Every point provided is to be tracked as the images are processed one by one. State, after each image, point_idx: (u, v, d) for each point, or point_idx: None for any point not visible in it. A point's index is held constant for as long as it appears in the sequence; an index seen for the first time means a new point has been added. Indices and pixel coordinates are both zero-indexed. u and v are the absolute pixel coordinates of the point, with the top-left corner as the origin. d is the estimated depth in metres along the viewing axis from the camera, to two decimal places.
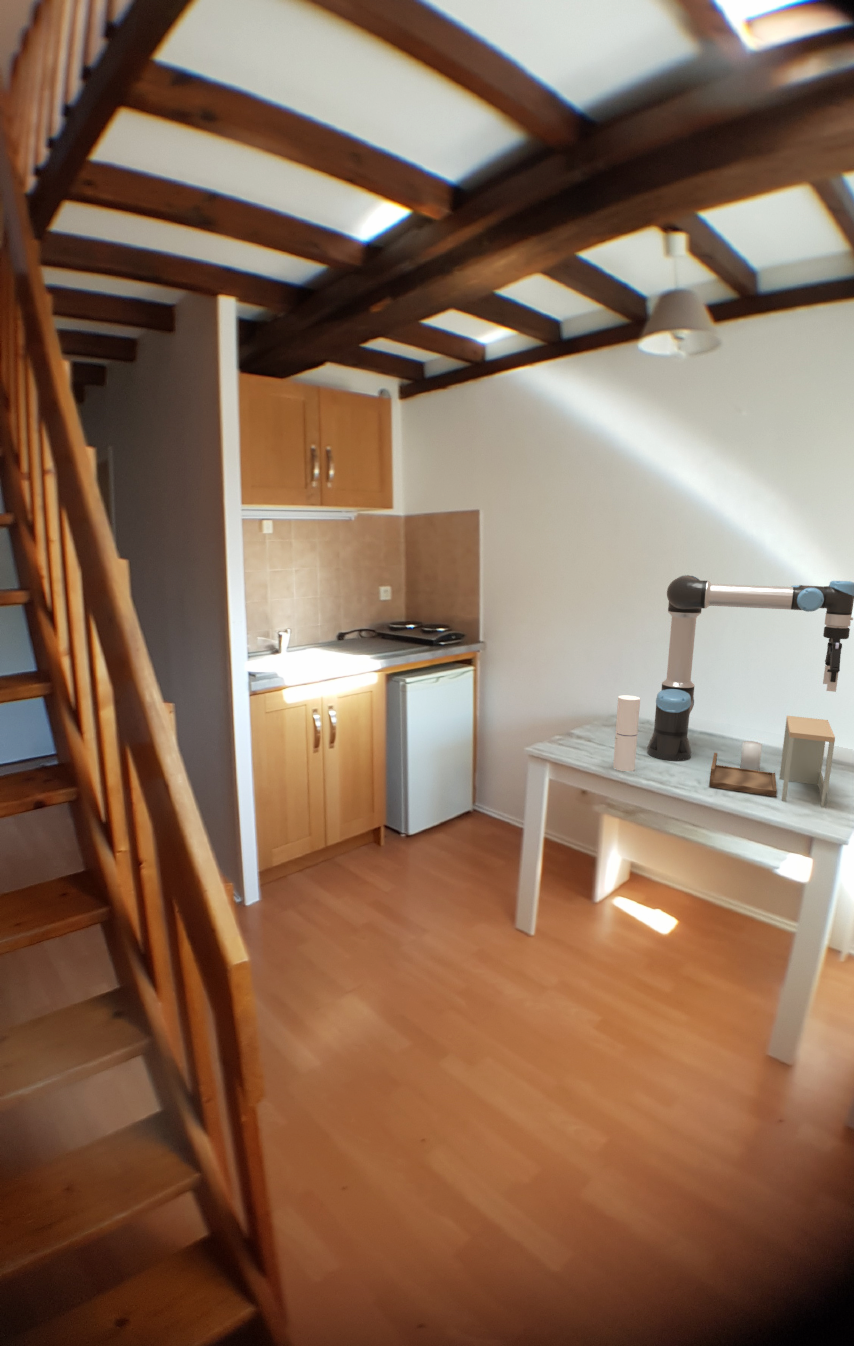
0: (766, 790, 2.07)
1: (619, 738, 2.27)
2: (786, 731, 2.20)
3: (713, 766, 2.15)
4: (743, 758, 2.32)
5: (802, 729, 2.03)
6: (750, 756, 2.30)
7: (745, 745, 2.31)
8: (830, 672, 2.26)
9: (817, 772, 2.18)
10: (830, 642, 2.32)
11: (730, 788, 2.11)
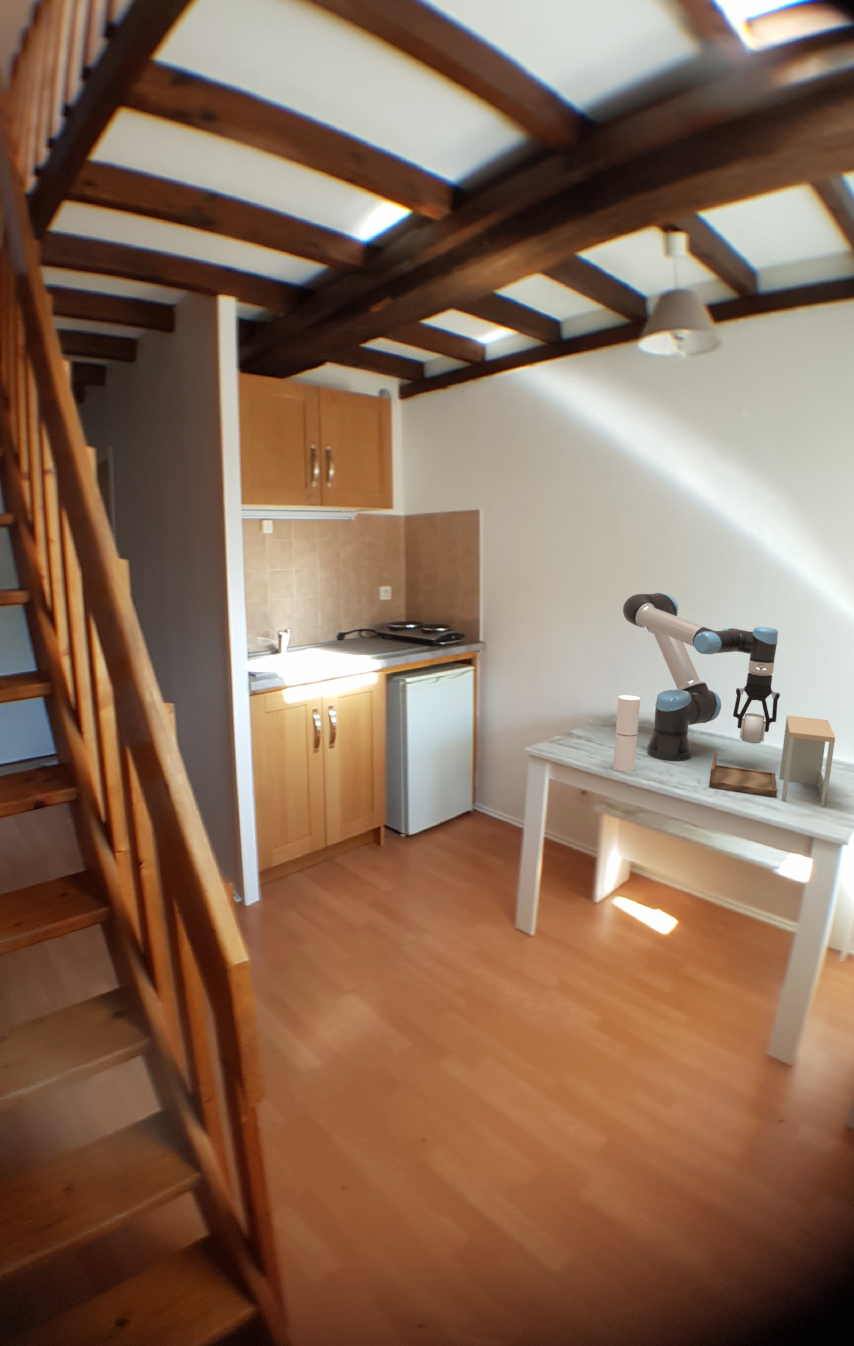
0: (766, 790, 2.07)
1: (619, 738, 2.27)
2: (786, 731, 2.20)
3: (713, 766, 2.15)
4: (745, 730, 2.31)
5: (802, 729, 2.03)
6: (752, 728, 2.29)
7: (747, 717, 2.29)
8: (742, 718, 2.33)
9: (817, 772, 2.18)
10: None
11: (730, 788, 2.11)
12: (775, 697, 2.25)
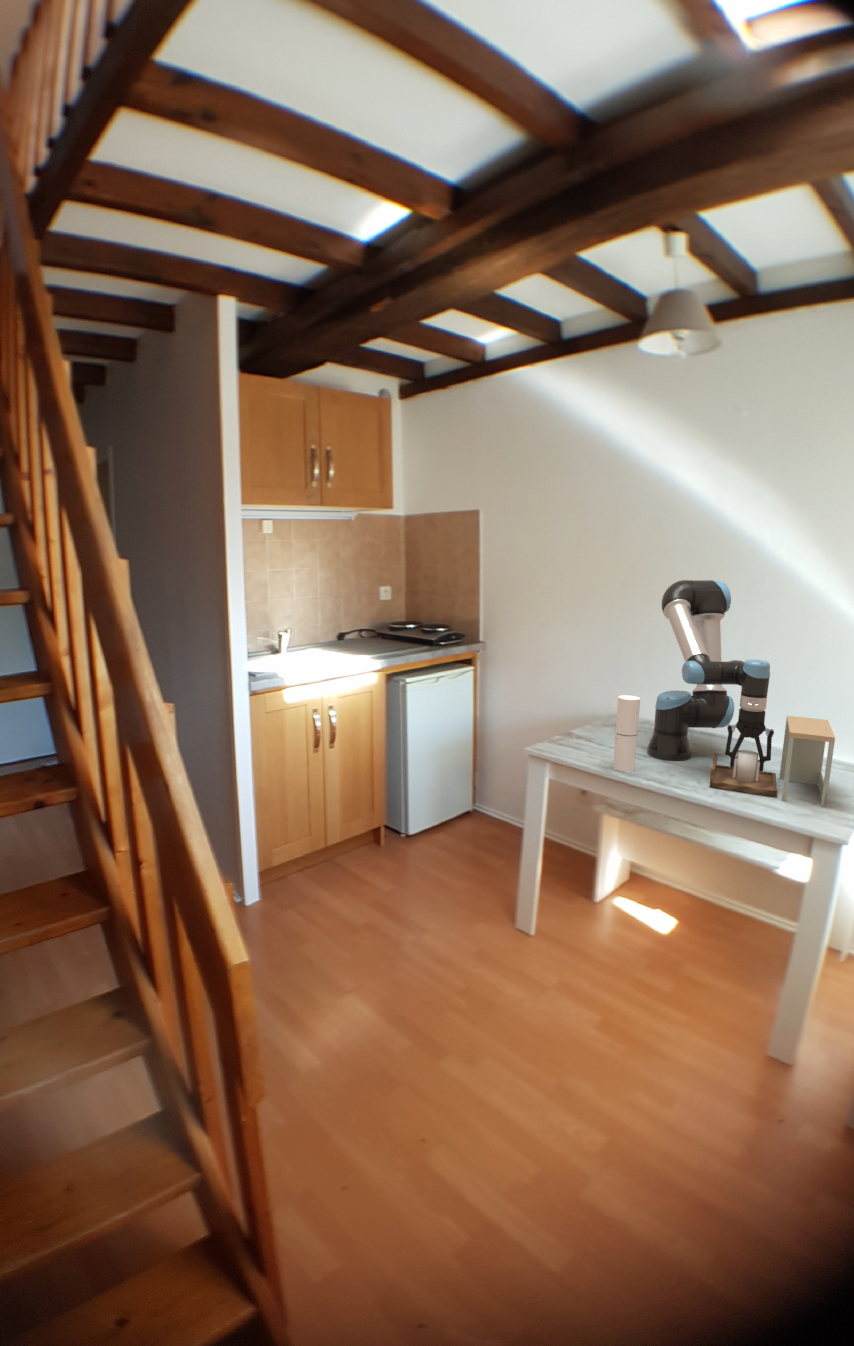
0: (767, 790, 2.07)
1: (619, 738, 2.27)
2: (786, 731, 2.20)
3: (713, 766, 2.15)
4: (738, 768, 2.16)
5: (802, 729, 2.03)
6: (745, 766, 2.14)
7: (740, 754, 2.15)
8: (734, 757, 2.19)
9: (817, 772, 2.18)
10: None
11: (730, 788, 2.11)
12: (769, 734, 2.11)
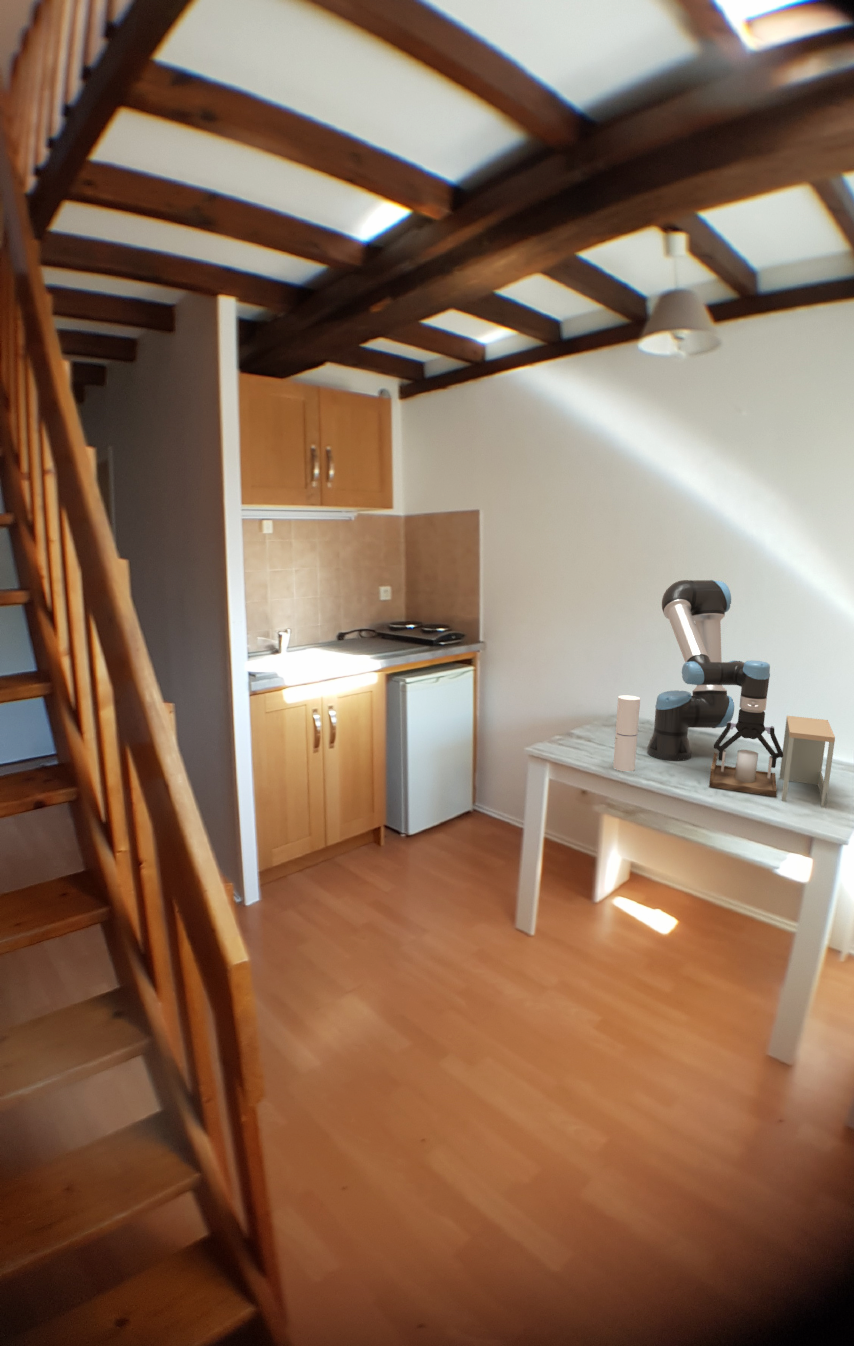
0: (766, 790, 2.07)
1: (619, 738, 2.27)
2: (786, 731, 2.20)
3: (713, 766, 2.15)
4: (738, 768, 2.16)
5: (802, 729, 2.03)
6: (745, 766, 2.14)
7: (740, 754, 2.15)
8: (723, 750, 2.20)
9: (817, 772, 2.18)
10: None
11: (730, 788, 2.11)
12: (770, 732, 2.11)
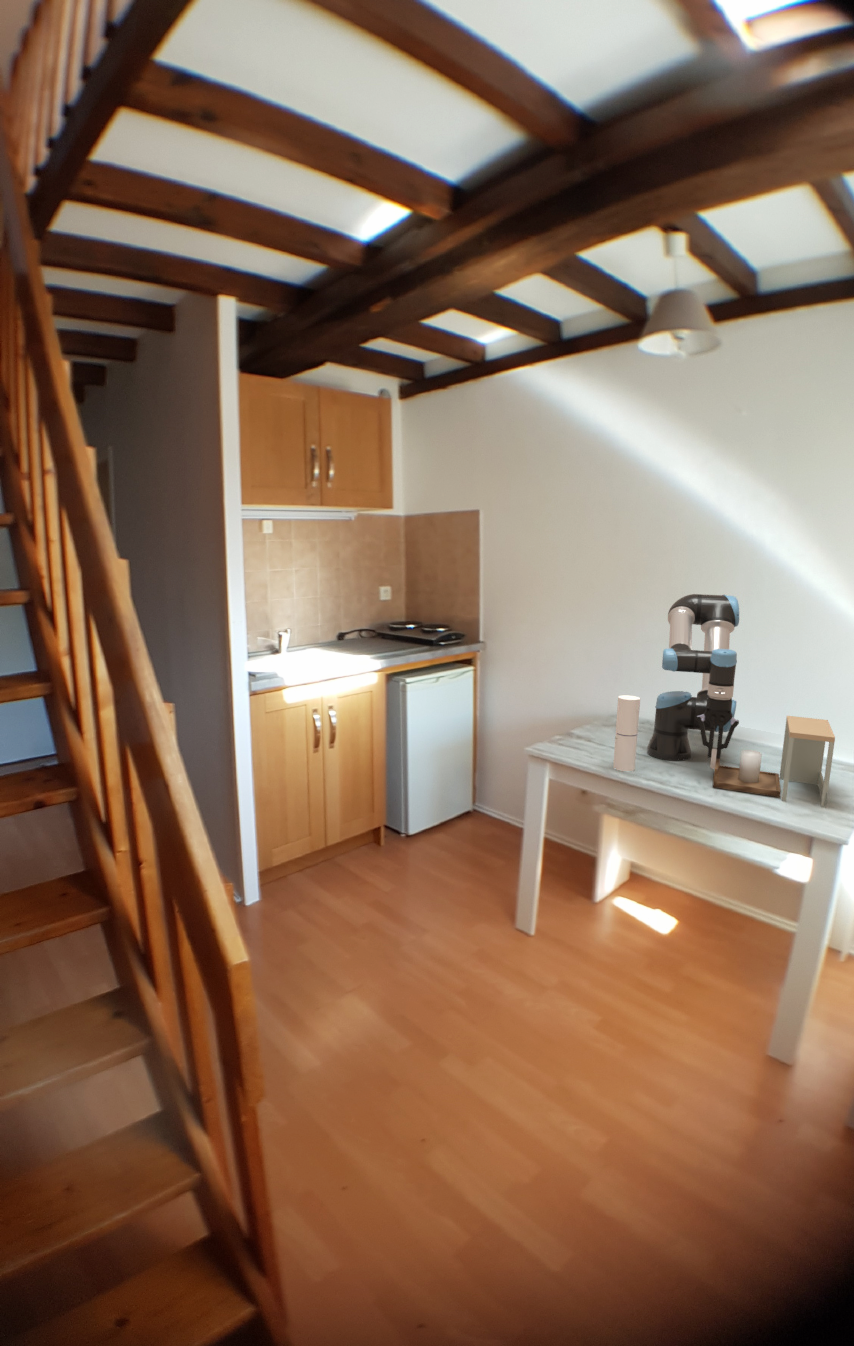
0: (770, 791, 2.07)
1: (619, 738, 2.27)
2: (786, 731, 2.20)
3: (717, 767, 2.14)
4: (742, 769, 2.15)
5: (802, 729, 2.03)
6: (749, 767, 2.13)
7: (744, 755, 2.14)
8: None
9: (817, 772, 2.18)
10: None
11: (734, 789, 2.11)
12: (733, 724, 2.15)
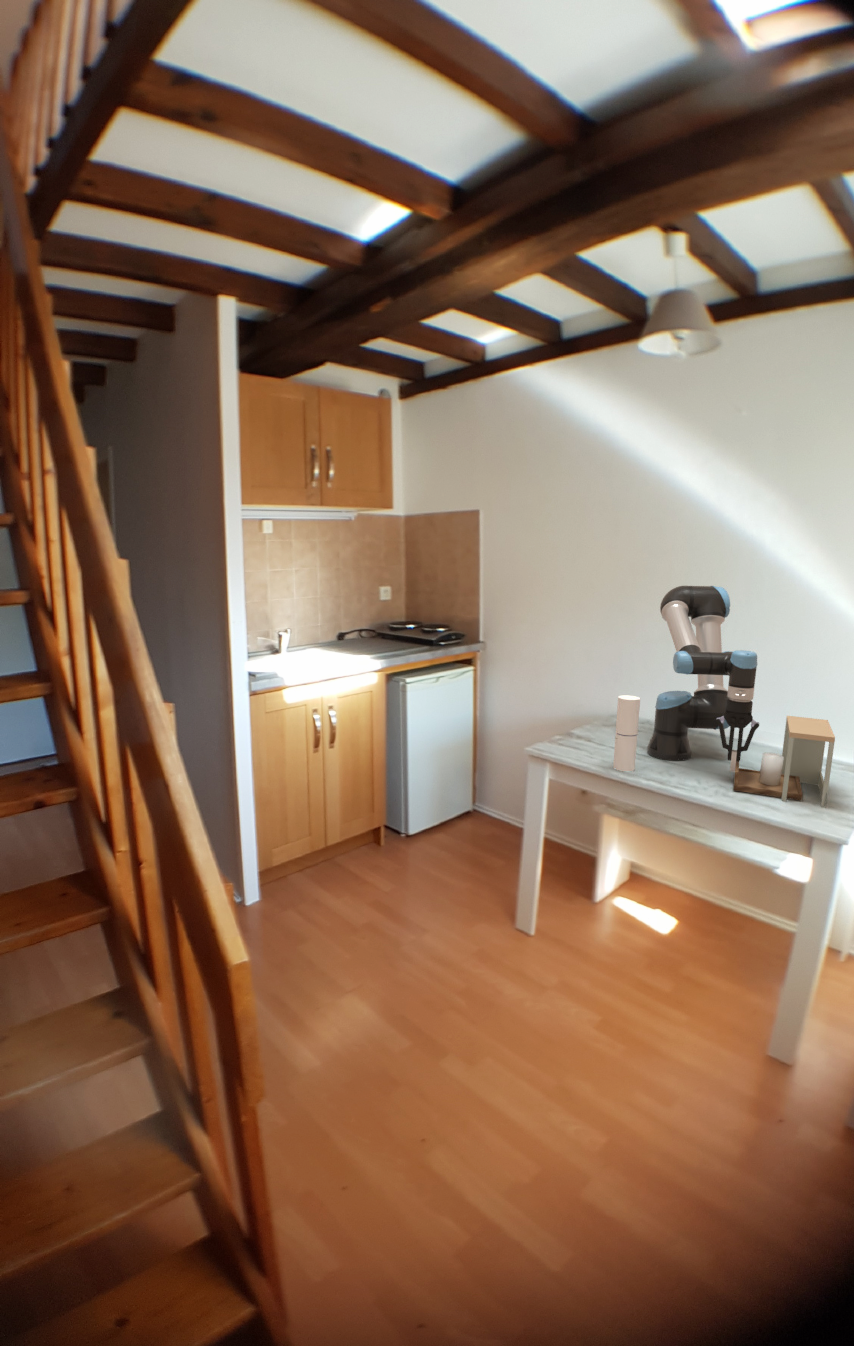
0: (792, 794, 2.04)
1: (619, 738, 2.27)
2: (786, 731, 2.20)
3: (737, 769, 2.12)
4: (763, 771, 2.13)
5: (802, 729, 2.03)
6: (771, 769, 2.11)
7: (766, 757, 2.12)
8: (732, 750, 2.19)
9: (817, 772, 2.18)
10: None
11: (755, 792, 2.09)
12: (754, 726, 2.13)
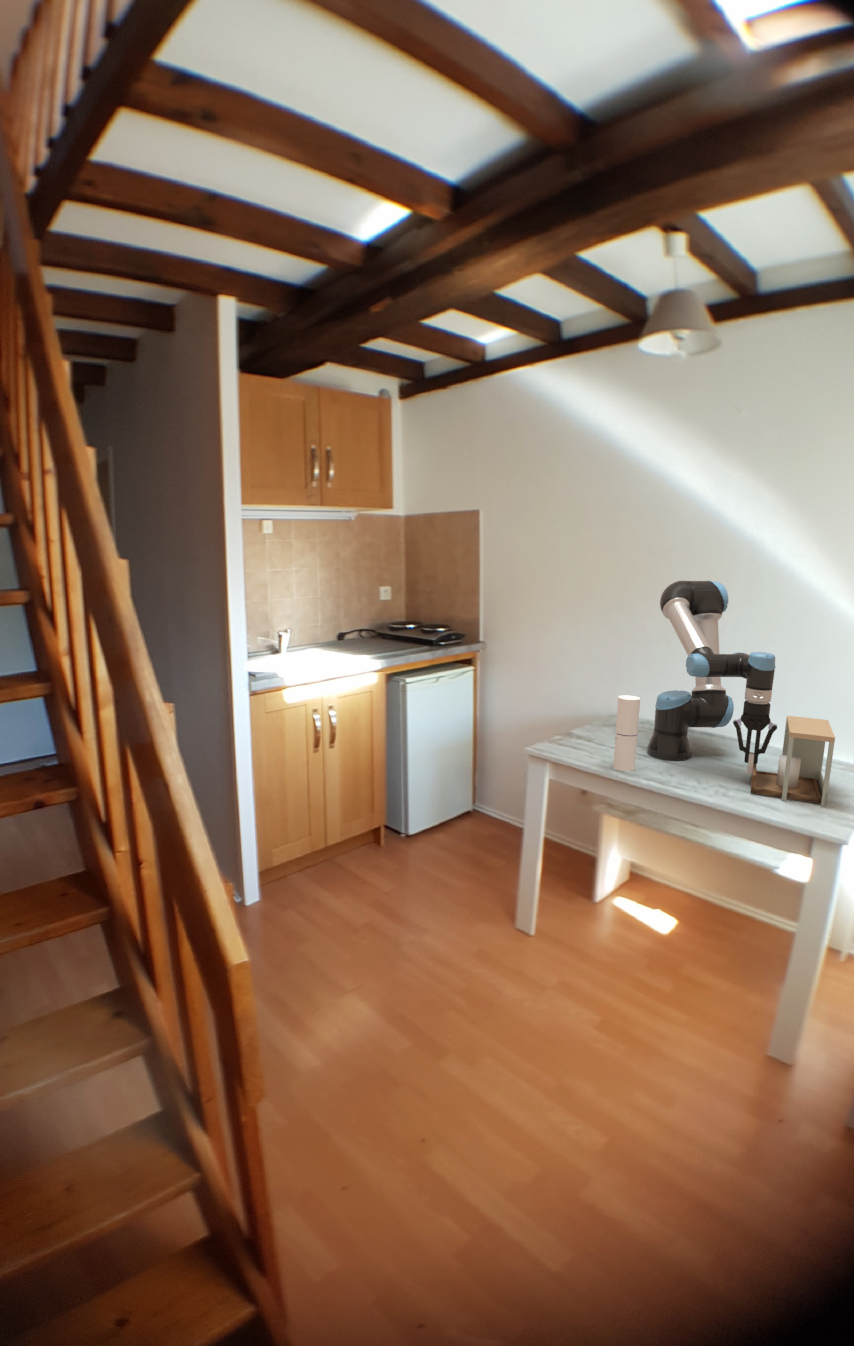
0: (811, 797, 2.02)
1: (619, 738, 2.27)
2: (786, 731, 2.20)
3: (755, 772, 2.10)
4: (781, 774, 2.11)
5: (802, 729, 2.03)
6: None
7: (783, 760, 2.10)
8: (749, 752, 2.17)
9: (817, 772, 2.18)
10: None
11: (773, 795, 2.06)
12: (771, 729, 2.11)
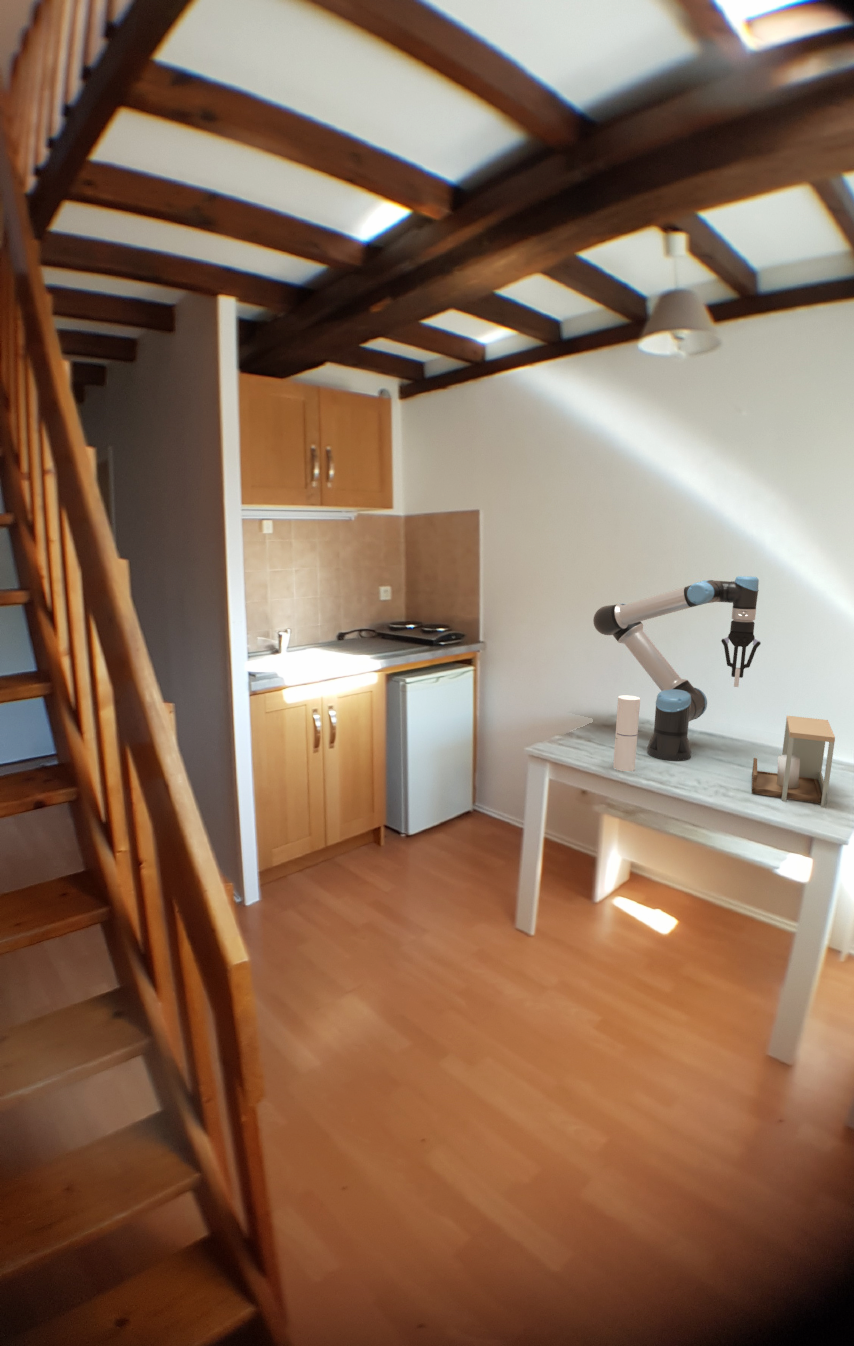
0: (812, 797, 2.02)
1: (619, 738, 2.27)
2: (786, 731, 2.20)
3: (755, 772, 2.10)
4: (783, 775, 2.10)
5: (802, 729, 2.03)
6: (792, 772, 2.09)
7: (785, 761, 2.09)
8: None
9: (817, 772, 2.18)
10: None
11: (774, 795, 2.06)
12: (755, 644, 2.35)
